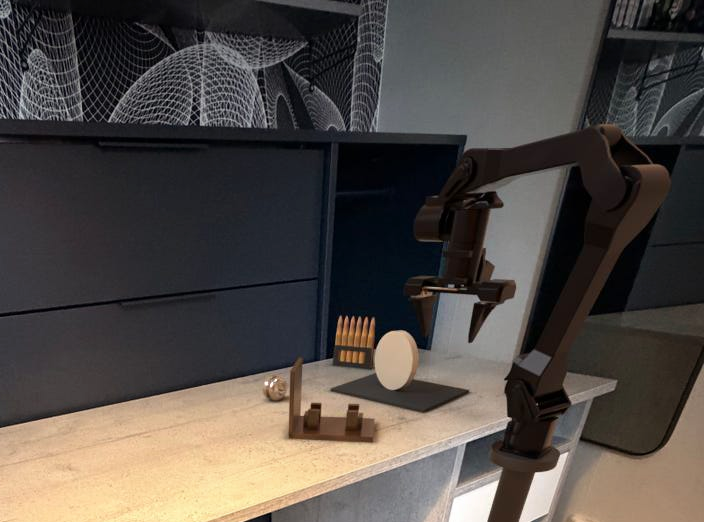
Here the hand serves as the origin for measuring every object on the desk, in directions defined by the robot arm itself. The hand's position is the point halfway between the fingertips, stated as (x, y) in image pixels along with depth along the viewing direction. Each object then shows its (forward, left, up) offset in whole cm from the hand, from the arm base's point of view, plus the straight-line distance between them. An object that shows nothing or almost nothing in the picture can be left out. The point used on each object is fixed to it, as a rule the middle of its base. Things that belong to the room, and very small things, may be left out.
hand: (447, 339), depth 97 cm
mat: (+12, -5, -13) cm, 18 cm away
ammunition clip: (+34, -17, -13) cm, 40 cm away
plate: (+12, -4, -12) cm, 18 cm away
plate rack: (+7, +24, -13) cm, 28 cm away
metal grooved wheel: (+29, +17, -13) cm, 36 cm away
